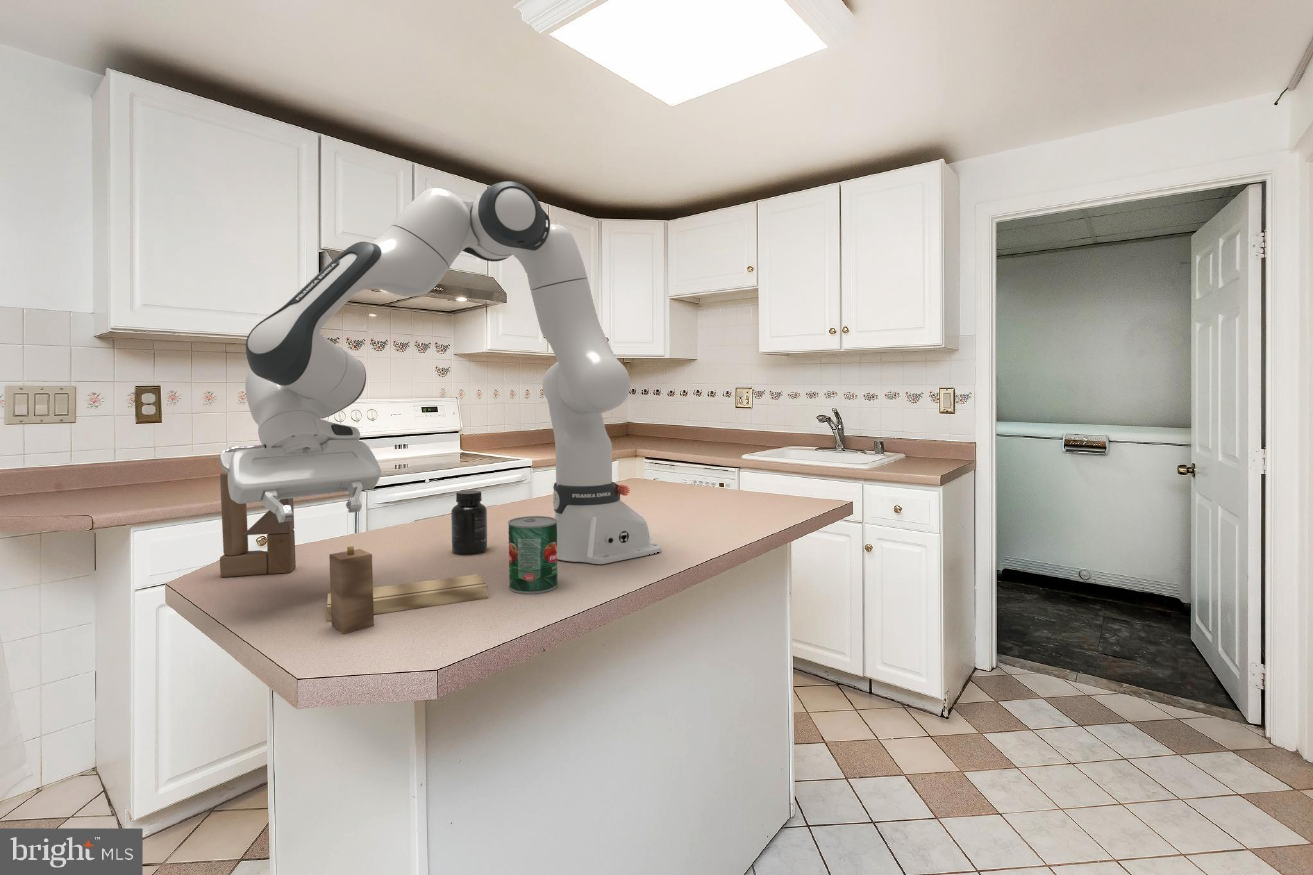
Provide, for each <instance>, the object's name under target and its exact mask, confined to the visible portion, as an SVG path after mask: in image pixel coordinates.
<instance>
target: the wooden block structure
mask: <svg viewBox="0 0 1313 875" xmlns="http://www.w3.org/2000/svg"><path fill="white" fill-rule="evenodd" d="M219 482H220V484H219V485H220V504H221V524H222V525H221V527H222V528H221V531H222V545H223V546H222V547H223V548H222V549H223V550H222V551H223V555H221V556H220V558H219V571H220V577H221V578H229V577H245V576H255V575H256V576H259V575H268V574H269V575H274V574H275V575H277V574H279V575H280V574H290V573H291V572H292V571H293V570H294V569H296V567H297V564H296V560H297V559H296V536H295V512H294V510H295V509H294V508H295V507H294V498H288V499H279V500H278V501H279V502H280V503H281V504H283V505H284V506H285V505H290V507H291V511H292V512H293V517H292V518H291V519H292V520H291V521H287V522H280V523H279V521H278V518H277V515H276V514H274V513H273V512H272V511H270V510H269V509H268V511H266V512H265V514H264V515H263V516H261V517H259V519H258V520H257V521H256V522H255V523H254V524H253V525H251V527H250V528H248V511H247V510H248V509H247V507H248V506H247V503H245V504H238V503H236V502H235V501H233V500H232V499H231V498H230V494H229V489H228V472H226V471H223V472H221V473H220V474H219ZM256 535H259V536H260V535H266V545H267V546H266V548H267V549H266V551H265V550H249V536H256Z"/></svg>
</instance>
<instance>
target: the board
mask: <svg viewBox="0 0 1313 875" xmlns="http://www.w3.org/2000/svg"><path fill="white" fill-rule="evenodd" d="M488 586H489V585H488V584H487V582H486V581H485V580H484V579H483V577H481V575H480V574H471V575H462V576H456V577H449V578H448V577H447V578H439V579H431V580H425V581H417V582H409V583H399V584H393V585H385V586H376V587H373V609H374V615H379V614H386V613H393V612H394V613H395V612H400V611H405V610H406V611H407V610H408V611H409V610H412V609H420V608H427V607H435V606H440V605H448V604H454V603H455V604H456V603H461V602H468V601H469V602H470V601H474V600H482V599H488V597H489V596H488V595H489V594H488V592H489V591H488ZM326 609H327V610H326V611H327V614H326V615H327V622H332V619H331V592H330V593H327V607H326Z"/></svg>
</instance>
